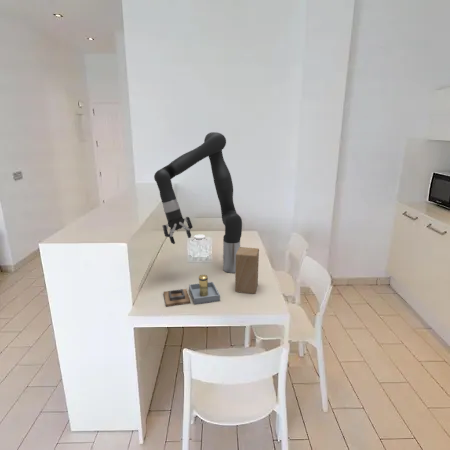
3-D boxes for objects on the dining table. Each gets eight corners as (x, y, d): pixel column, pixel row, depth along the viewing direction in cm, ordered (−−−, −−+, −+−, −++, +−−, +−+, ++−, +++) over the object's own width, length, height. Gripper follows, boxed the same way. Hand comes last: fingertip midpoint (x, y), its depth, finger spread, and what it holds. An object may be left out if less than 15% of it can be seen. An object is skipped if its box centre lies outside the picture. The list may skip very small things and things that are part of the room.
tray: (212, 287, 168) (212, 281, 167) (220, 300, 155) (220, 295, 154) (189, 290, 165) (189, 284, 164) (194, 304, 152) (194, 298, 151)
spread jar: (196, 257, 205) (195, 239, 202) (187, 251, 214) (186, 234, 210) (212, 253, 212) (212, 235, 208) (202, 247, 220) (202, 231, 217)
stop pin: (206, 291, 163) (206, 273, 160) (209, 295, 159) (208, 277, 156) (198, 293, 161) (198, 275, 158) (200, 297, 158) (200, 278, 155)
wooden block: (257, 284, 171) (259, 248, 165) (255, 294, 162) (256, 255, 156) (238, 282, 173) (239, 246, 167) (235, 292, 164) (235, 253, 158)
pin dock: (186, 291, 164) (186, 286, 164) (190, 303, 153) (190, 298, 152) (163, 293, 161) (163, 288, 161) (166, 306, 150) (166, 301, 150)
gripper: (160, 214, 158) (171, 246, 161) (187, 205, 164) (197, 236, 167) (156, 214, 164) (166, 244, 167) (182, 205, 170) (191, 235, 173)
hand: (181, 240), depth 167 cm, fingers open, 8 cm apart
